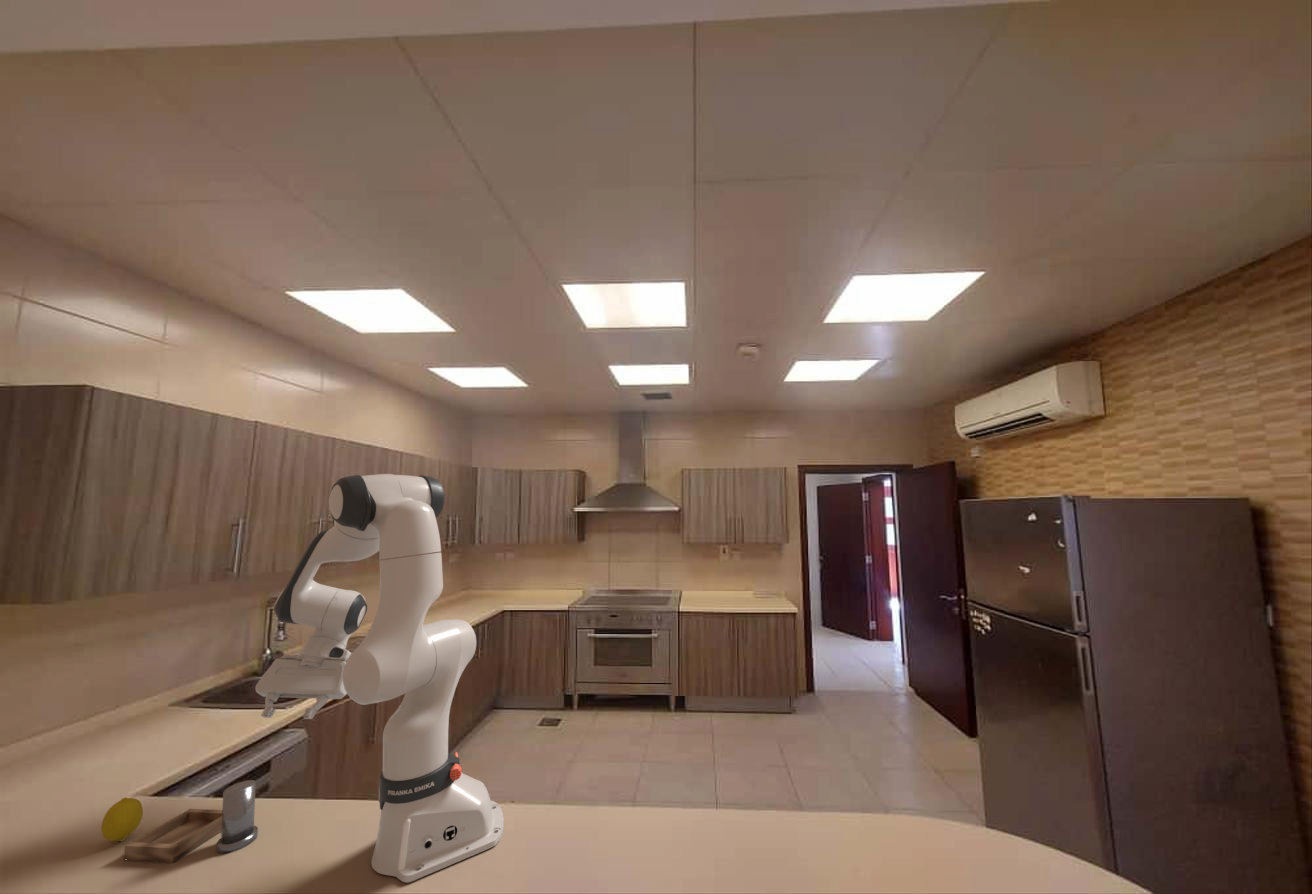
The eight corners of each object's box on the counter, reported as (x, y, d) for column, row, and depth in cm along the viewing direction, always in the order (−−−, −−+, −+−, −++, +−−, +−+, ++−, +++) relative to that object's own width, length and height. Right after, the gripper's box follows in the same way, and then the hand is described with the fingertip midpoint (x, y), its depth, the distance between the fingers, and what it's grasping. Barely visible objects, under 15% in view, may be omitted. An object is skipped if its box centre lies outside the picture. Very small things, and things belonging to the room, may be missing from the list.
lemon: (95, 846, 94) (98, 803, 95) (135, 829, 99) (138, 787, 100) (105, 854, 91) (108, 809, 92) (146, 836, 96) (148, 793, 97)
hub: (262, 828, 96) (264, 775, 97) (249, 847, 91) (252, 790, 92) (225, 837, 94) (227, 783, 95) (209, 857, 88) (212, 799, 90)
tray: (234, 823, 98) (234, 810, 99) (172, 863, 88) (173, 848, 88) (189, 821, 100) (190, 808, 100) (123, 860, 89) (124, 845, 90)
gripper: (271, 649, 115) (232, 711, 105) (355, 651, 114) (324, 714, 104) (285, 660, 119) (249, 720, 109) (365, 662, 119) (337, 723, 109)
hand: (286, 717), depth 107 cm, fingers open, 8 cm apart
